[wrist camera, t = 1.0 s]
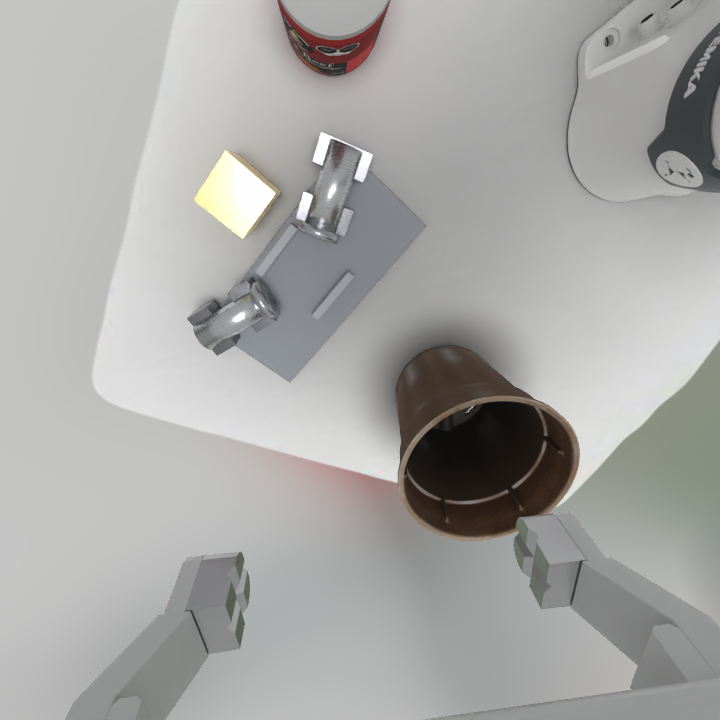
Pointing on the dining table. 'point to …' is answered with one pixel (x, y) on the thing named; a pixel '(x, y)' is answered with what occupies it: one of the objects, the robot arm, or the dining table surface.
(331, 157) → the shaft
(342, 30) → the canned food
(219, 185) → the golden yellow cube
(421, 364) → the plant pot
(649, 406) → the dining table surface
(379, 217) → the grey base plate
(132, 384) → the dining table surface
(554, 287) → the dining table surface
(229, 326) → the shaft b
